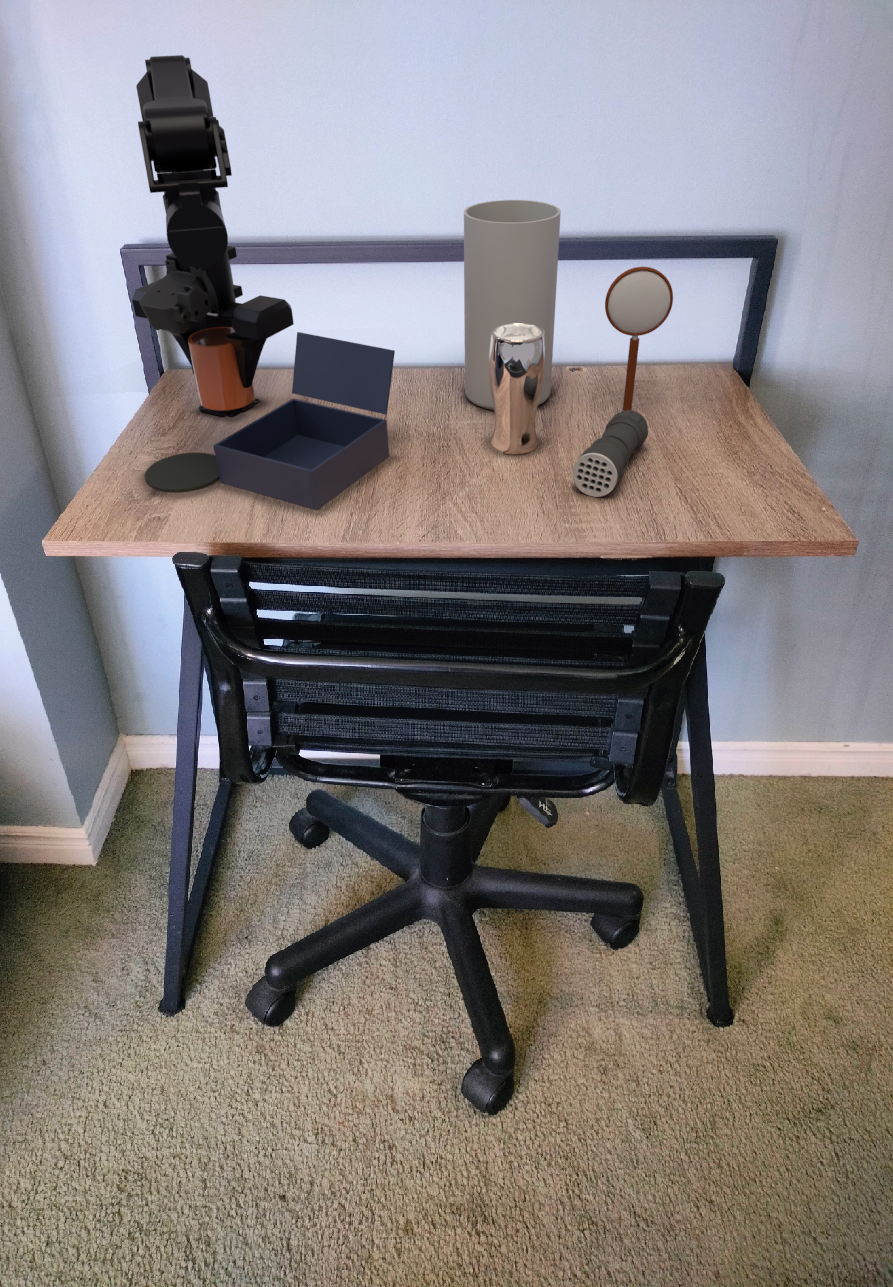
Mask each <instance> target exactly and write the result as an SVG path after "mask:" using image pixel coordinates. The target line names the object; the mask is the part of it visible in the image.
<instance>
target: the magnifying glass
mask: <svg viewBox="0 0 893 1287" xmlns="http://www.w3.org/2000/svg"><path fill="white" fill-rule="evenodd" d="M673 291H674V290H673V287H672V284H671V283H670V281H669V279H668V278H667V277H666V275H665V274H664V273H663V272H661V271H659V270H657V269H656V268H653V267H650V266H637V267H632V268H629V269H627V270H625V271H624V272H622V273H620V274H619V275H618V276H617V277H616V278H615V279H614V280H613V281H612V283H611V284H610V285H609V287H608V290H607V292H606V295H605V300H604V309H605V310H604V311H605V314H606V317H607V320H608V322H609V324H610V325H611V326H612V327H613V328H614V329H615V330H616V331H618V332H619V333H621V334H623V335H626V336H630V338H629V345H628V346H629V347H628V355H627V366H626V367H627V368H626V374H625V375H626V376H625V383H624V394H623V403H622V411H626V410H633V409H632V407H633V398H634V391H635V381H636V373H637V365H638V364H637V363H638V354H639V345H640V337H639V336H645V335H647V334H650V333H652V332H654V331H656V330H657V329H658V328H659V327H661V326H662V325H663V324H664V323H665V322H666V320H667V318H668V317H669V315H670V313H671V311H672V308H673V303H674V292H673Z"/></svg>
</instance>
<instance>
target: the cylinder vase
mask: <svg viewBox="0 0 893 1287" xmlns="http://www.w3.org/2000/svg"><path fill="white" fill-rule="evenodd" d="M560 230H561V208H559V207H558V206H556V205H554V204H551V203H547V202H543V201H537V200H528V199H527V200H526V199H501V200H490V201H485V202H479V203H474V204H472V205H469V206H467V207H466V208H464V210H463V297H464V298H463V302H464V303H463V304H464V305H463V306H464V307H463V309H464V310H463V312H464V313H463V314H464V317H463V319H464V323H463V324H464V392H465V393H464V394H465V396H466V398H467V399H468V401H470V402H471V403H472V404H474V405H476V406H478V407H480V408H483V409H487V410H491V411H494V405H493V400H492V394H491V387H490V379H489V351H490V340H491V330H492V329H493V328H494V327H496V326H498V325H502V324H506V323H529V324H534V325H537V326H539V327H541V328H542V329H543V330H544V346H545V366H544V377H543V383H542V388H541V393H540V397H539V401H538V406H540V405H541V404H542V405H543V403H545V402H546V401H547V400H548V398H549V397H550V395H551V390H552V371H553V354H554V353H553V352H554V336H555V333H554V332H555V317H556V304H557V303H556V301H557V286H558V285H557V284H558V266H559V248H560Z"/></svg>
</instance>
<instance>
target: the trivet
mask: <svg viewBox="0 0 893 1287" xmlns="http://www.w3.org/2000/svg"><path fill="white" fill-rule="evenodd" d="M144 480H145V483H146V484H147V486H149V488H151V489H153V490H155V491H159V492H163V493H169V494H170V493H172V494H174V493H176V494H177V493H180V494H181V493H189V492H194V491H198V490H202V489H205V488H207V487H208V488H209V486H212V485H214V484H215V483H217V482H220V477H219V472H218V467H217V462H216V457H215V454H211V453H206V452H184V453H183V452H182V453H178V454H174V455H170V456H166V457H164V458H162V459H159V460H157V461H156V462H154V463H152V464H151V465H149V467H148V468H147V469H146V470H145V473H144Z"/></svg>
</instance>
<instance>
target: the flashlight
mask: <svg viewBox="0 0 893 1287" xmlns="http://www.w3.org/2000/svg"><path fill="white" fill-rule="evenodd" d="M648 435H649V426H648V422H647V419H646V418H645V417H644V415H642V414H641V413H640V412H638V411H637V410H633V409H631V410H626V411H623V410H621V411H620V412H617V413H616V414H614V415H613V416H612V417H611V419H610V420H609V421H608V422H607V424H606V425H605V429H604V432H603V433H602V436H601V437H599V438H597V439H596V440H594V442H593V443H592V444H591V445H590V446H589V447H587V448H586V449H585V450H584V451H583V452H582V453H581V455H580V456H579V457H578V459H577V460H576V461H575V462H574V464H573V467H572V470H571V471H572V472H571V476H572V480H573V483H574V485H575V486H576V488H577V489H579V491H580V492H582V493H583V494H585V495H587V496H589V497H592V498H593V497H595V498H600V497H604V496H607V495H608V494H610V493H611V492H612V491H613V490H614V488H616V485H617V484H618V482H619V481H620V480H621V478H622V476H623V474H624V470H626V468H627V466H628V464H629V458H631V456H632V455H633V454H634V453H636V452H637V451H638V450H640V449H641V448H642V447H643V445H644V443H645V442H646V439H647V438H648Z"/></svg>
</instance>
